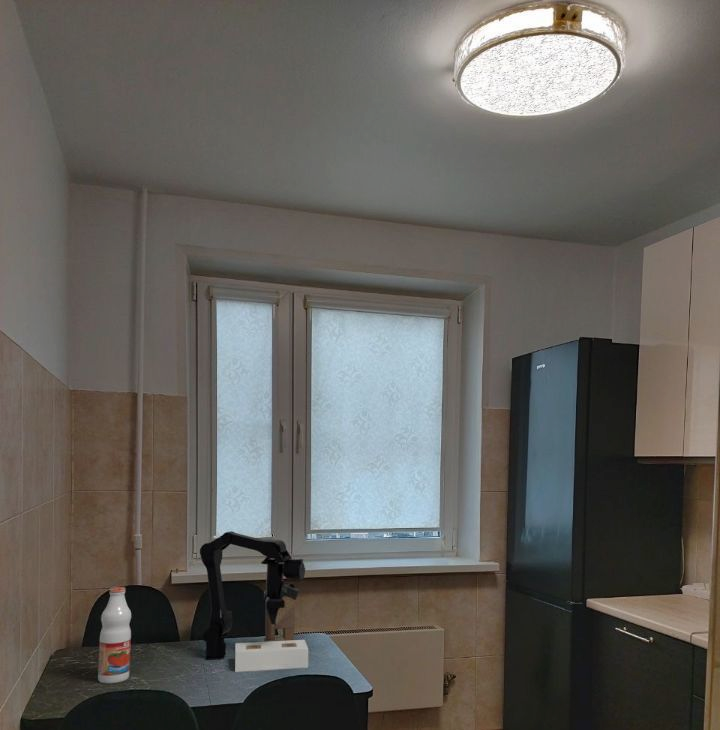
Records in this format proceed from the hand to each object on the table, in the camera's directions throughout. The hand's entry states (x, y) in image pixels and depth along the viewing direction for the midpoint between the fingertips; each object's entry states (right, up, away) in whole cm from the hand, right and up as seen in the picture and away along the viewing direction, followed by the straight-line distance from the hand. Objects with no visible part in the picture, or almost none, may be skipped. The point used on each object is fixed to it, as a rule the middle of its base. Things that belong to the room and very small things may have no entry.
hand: (273, 624), depth 234 cm
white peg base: (0, -12, -5) cm, 13 cm away
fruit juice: (-48, -10, -20) cm, 53 cm away
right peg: (+6, -11, -4) cm, 13 cm away
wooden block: (0, -15, +15) cm, 21 cm away
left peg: (-6, -11, -6) cm, 14 cm away
